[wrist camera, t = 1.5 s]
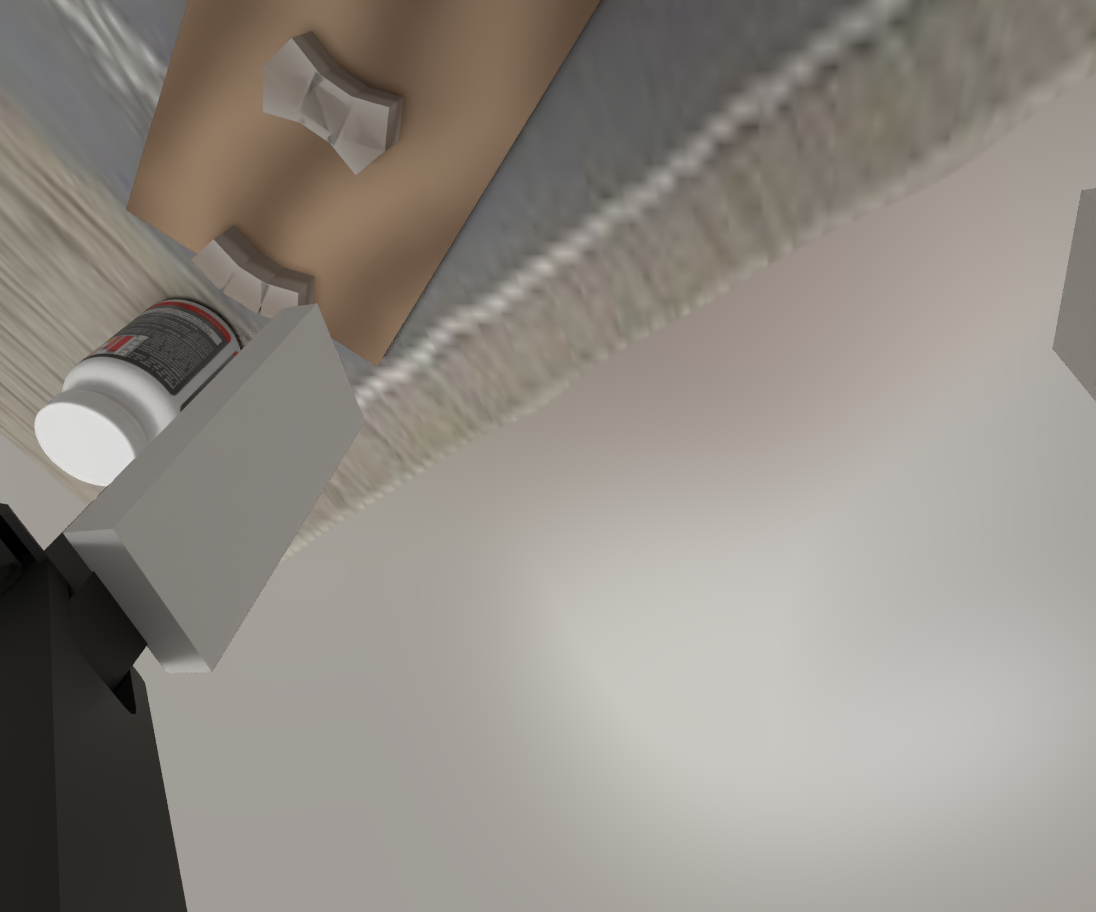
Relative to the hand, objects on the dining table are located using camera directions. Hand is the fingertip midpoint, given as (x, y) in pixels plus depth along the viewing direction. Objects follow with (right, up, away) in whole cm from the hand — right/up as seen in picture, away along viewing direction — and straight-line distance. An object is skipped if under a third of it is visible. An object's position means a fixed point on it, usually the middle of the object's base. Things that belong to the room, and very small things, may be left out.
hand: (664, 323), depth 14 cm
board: (-11, +13, +20) cm, 26 cm away
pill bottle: (-22, +4, +29) cm, 36 cm away
